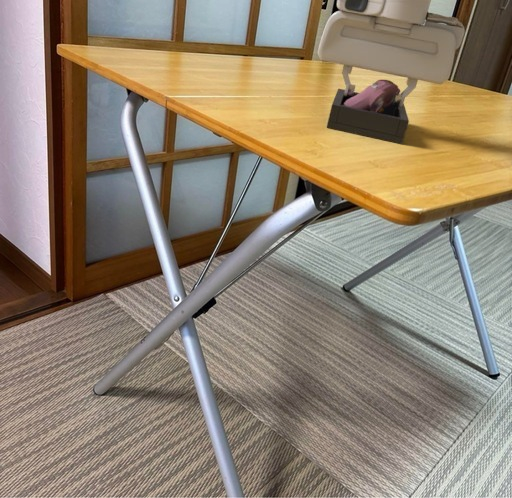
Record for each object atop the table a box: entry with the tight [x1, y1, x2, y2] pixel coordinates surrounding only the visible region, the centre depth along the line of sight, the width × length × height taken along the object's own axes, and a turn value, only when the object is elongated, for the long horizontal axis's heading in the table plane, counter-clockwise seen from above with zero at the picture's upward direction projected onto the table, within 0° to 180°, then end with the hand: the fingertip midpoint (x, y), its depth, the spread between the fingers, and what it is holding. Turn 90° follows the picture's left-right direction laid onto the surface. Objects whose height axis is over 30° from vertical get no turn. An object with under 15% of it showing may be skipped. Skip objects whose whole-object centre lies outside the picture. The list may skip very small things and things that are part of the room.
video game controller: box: [343, 79, 401, 113], centre depth 82 cm, size 10×5×7 cm, turn 144°
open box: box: [326, 88, 410, 145], centre depth 83 cm, size 11×15×4 cm
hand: (372, 101), depth 82 cm, fingers closed on video game controller, 6 cm apart
